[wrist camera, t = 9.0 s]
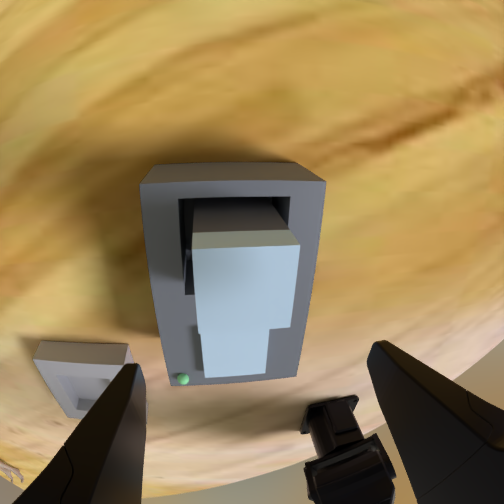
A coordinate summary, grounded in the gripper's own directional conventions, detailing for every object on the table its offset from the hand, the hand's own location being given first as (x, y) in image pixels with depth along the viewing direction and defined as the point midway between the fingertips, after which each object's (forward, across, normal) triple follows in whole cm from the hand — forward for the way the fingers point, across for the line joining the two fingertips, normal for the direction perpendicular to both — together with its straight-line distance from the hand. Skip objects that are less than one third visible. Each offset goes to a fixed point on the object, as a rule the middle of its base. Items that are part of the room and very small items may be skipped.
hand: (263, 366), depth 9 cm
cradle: (+13, +13, +16) cm, 24 cm away
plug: (+12, 0, 0) cm, 12 cm away
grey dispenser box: (+13, 0, +4) cm, 13 cm away
